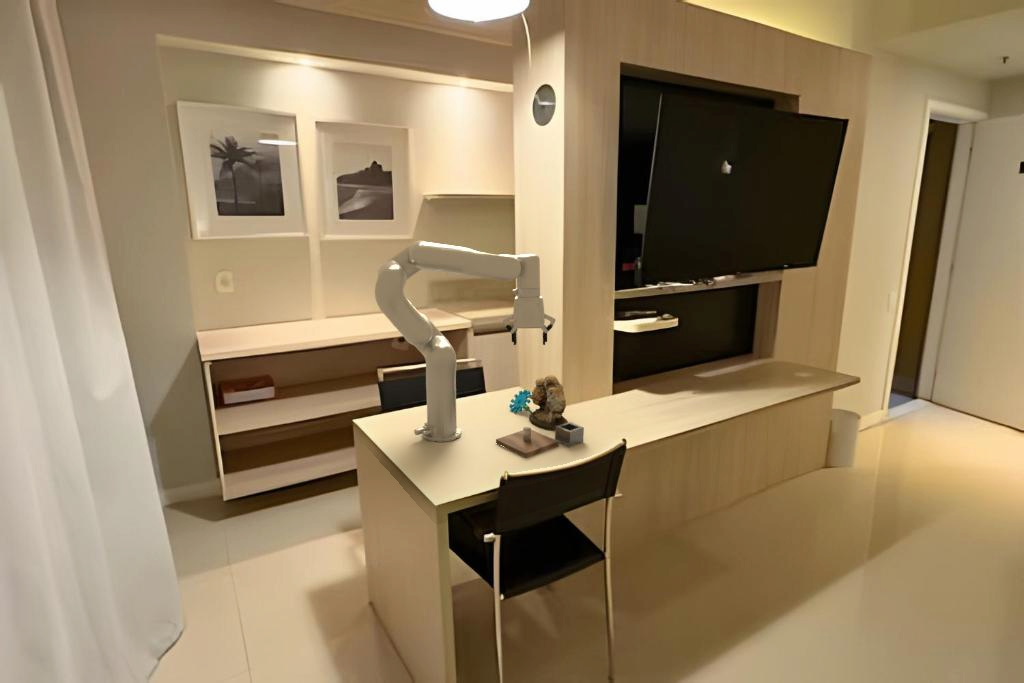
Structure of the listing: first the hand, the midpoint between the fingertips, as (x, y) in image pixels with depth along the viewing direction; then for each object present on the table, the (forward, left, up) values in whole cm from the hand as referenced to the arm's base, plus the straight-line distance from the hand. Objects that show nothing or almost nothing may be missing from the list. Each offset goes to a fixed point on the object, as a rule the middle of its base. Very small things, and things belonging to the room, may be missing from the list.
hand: (529, 344), depth 184 cm
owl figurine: (+9, -1, -30) cm, 31 cm away
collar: (+2, -18, -29) cm, 34 cm away
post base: (-10, -11, -29) cm, 33 cm away
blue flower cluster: (+9, +13, -30) cm, 34 cm away
